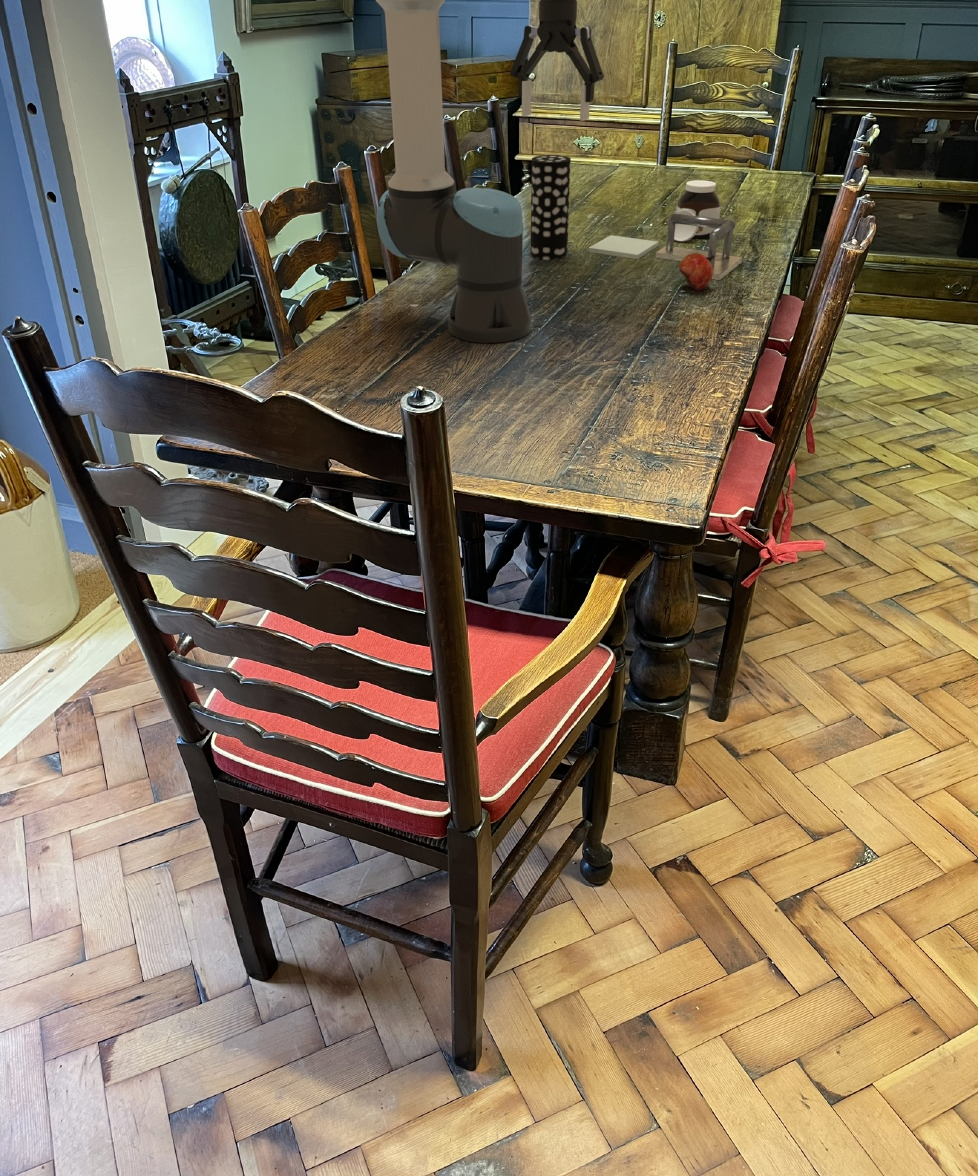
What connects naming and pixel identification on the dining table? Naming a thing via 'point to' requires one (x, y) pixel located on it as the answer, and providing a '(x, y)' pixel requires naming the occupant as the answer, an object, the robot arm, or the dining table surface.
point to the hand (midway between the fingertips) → (555, 117)
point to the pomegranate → (696, 270)
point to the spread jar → (697, 209)
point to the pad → (623, 247)
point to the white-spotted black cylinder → (550, 206)
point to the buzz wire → (722, 227)
